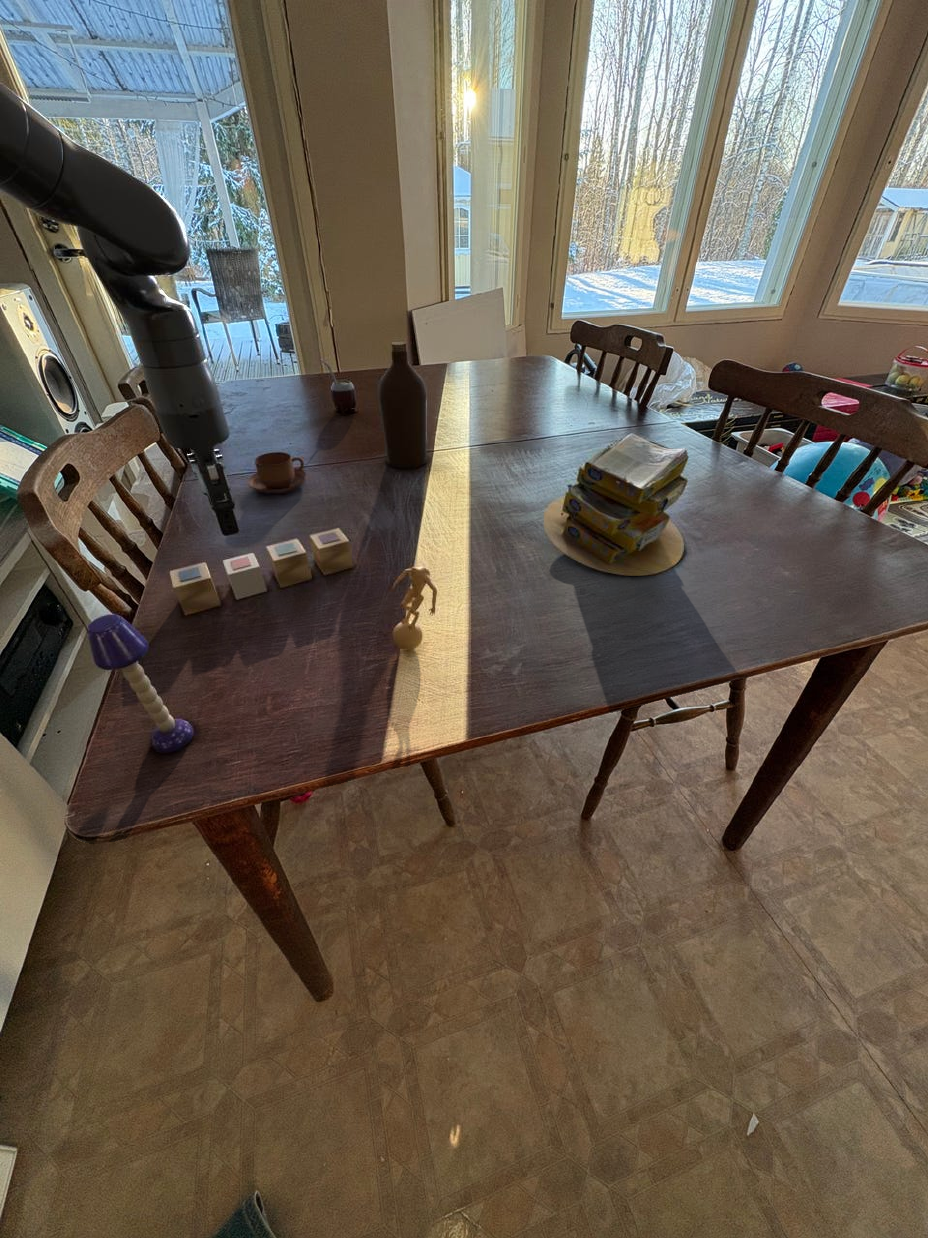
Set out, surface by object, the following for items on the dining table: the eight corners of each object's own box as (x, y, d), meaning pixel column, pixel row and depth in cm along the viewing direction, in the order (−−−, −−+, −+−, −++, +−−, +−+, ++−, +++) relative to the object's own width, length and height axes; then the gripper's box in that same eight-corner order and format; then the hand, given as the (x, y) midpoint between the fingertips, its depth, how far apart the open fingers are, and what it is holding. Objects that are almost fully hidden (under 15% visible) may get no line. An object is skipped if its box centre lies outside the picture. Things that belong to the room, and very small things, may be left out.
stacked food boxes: (713, 550, 89) (746, 456, 78) (608, 593, 79) (629, 492, 68) (612, 497, 105) (628, 414, 95) (514, 528, 95) (520, 438, 85)
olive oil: (396, 473, 115) (385, 350, 100) (377, 458, 123) (364, 341, 107) (437, 463, 120) (433, 344, 104) (417, 449, 127) (410, 336, 111)
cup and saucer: (283, 471, 117) (276, 444, 113) (319, 483, 111) (314, 455, 108) (238, 489, 109) (230, 461, 105) (275, 503, 104) (268, 474, 100)
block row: (185, 615, 75) (172, 587, 72) (181, 598, 78) (169, 570, 75) (353, 567, 85) (349, 540, 82) (343, 553, 88) (338, 527, 85)
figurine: (378, 638, 71) (368, 565, 63) (413, 620, 74) (407, 548, 66) (416, 669, 66) (409, 593, 59) (451, 648, 69) (449, 574, 62)
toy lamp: (143, 758, 55) (68, 642, 45) (152, 726, 59) (84, 611, 48) (191, 748, 56) (128, 633, 46) (196, 717, 60) (139, 603, 49)
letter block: (236, 600, 78) (227, 574, 75) (230, 585, 81) (222, 559, 78) (267, 591, 80) (259, 565, 77) (260, 576, 83) (252, 551, 80)
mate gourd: (360, 408, 154) (353, 353, 144) (352, 416, 148) (345, 359, 138) (336, 407, 154) (328, 352, 145) (328, 415, 148) (318, 358, 139)
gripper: (149, 392, 66) (190, 507, 76) (159, 422, 56) (205, 550, 66) (210, 385, 69) (242, 496, 79) (230, 412, 59) (264, 535, 69)
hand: (225, 521), depth 73 cm, fingers open, 8 cm apart
